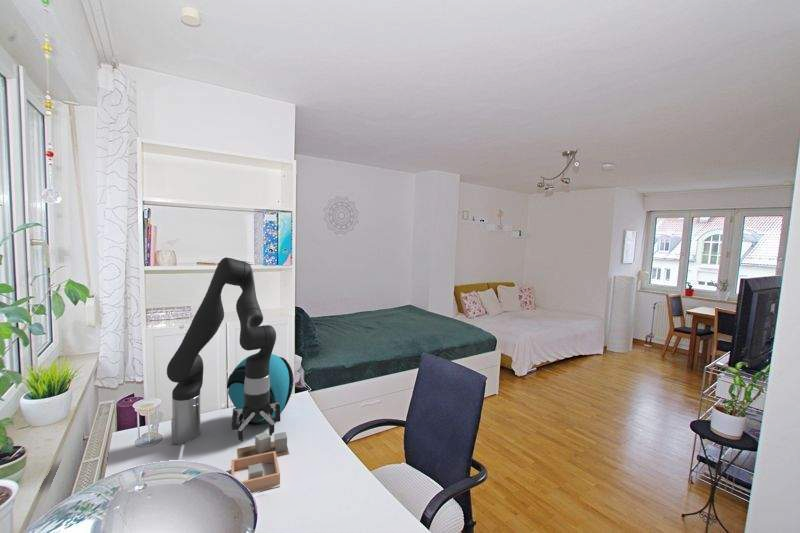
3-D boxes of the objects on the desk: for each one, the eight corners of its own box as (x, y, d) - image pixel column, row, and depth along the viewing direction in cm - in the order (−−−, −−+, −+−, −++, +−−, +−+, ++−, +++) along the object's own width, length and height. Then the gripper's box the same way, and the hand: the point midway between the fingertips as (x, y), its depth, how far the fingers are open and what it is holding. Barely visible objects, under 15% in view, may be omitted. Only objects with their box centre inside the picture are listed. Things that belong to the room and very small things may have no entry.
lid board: (237, 468, 122) (237, 465, 121) (237, 451, 131) (237, 448, 130) (289, 457, 129) (289, 454, 129) (285, 442, 138) (285, 439, 138)
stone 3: (275, 452, 129) (275, 439, 129) (274, 446, 133) (274, 433, 132) (286, 450, 131) (287, 437, 130) (285, 444, 134) (285, 431, 134)
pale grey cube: (259, 453, 128) (260, 440, 128) (255, 448, 131) (255, 435, 130) (270, 449, 131) (270, 436, 131) (265, 444, 134) (265, 431, 133)
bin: (231, 499, 108) (231, 485, 107) (231, 472, 119) (231, 460, 119) (279, 487, 114) (280, 474, 113) (275, 462, 125) (275, 450, 125)
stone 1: (248, 480, 115) (248, 465, 115) (261, 477, 117) (261, 462, 116) (249, 488, 111) (249, 473, 111) (262, 485, 113) (262, 470, 113)
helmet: (303, 420, 154) (305, 353, 152) (257, 446, 134) (258, 370, 131) (263, 403, 168) (264, 341, 165) (216, 425, 147) (216, 354, 144)
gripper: (278, 380, 118) (277, 427, 120) (231, 387, 112) (231, 436, 113) (282, 390, 112) (281, 438, 113) (232, 397, 105) (232, 449, 107)
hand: (256, 437), depth 113 cm, fingers open, 8 cm apart
